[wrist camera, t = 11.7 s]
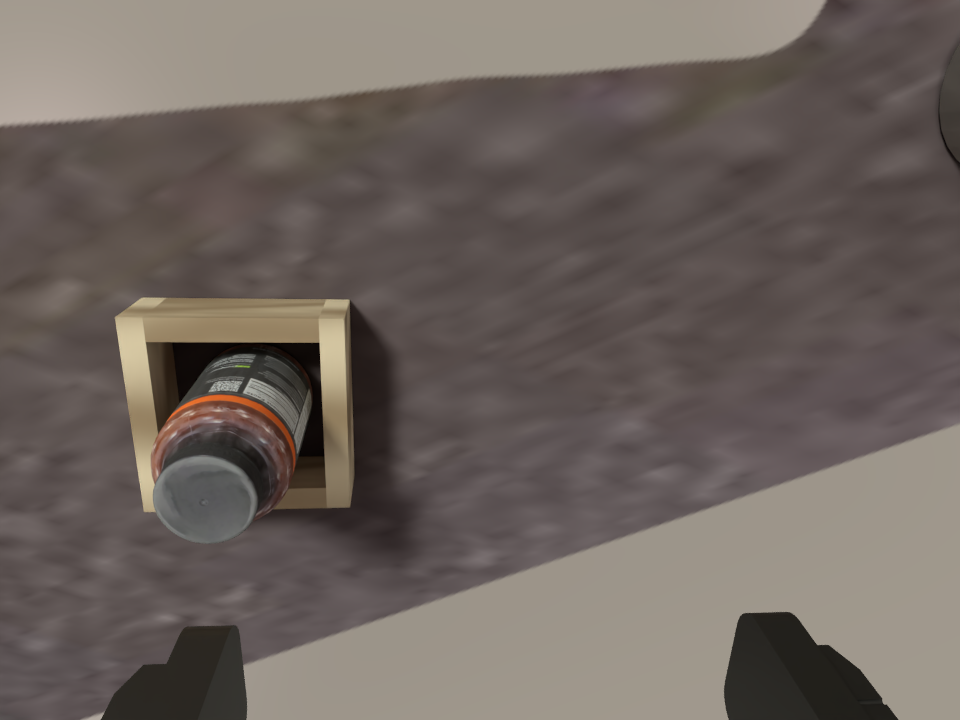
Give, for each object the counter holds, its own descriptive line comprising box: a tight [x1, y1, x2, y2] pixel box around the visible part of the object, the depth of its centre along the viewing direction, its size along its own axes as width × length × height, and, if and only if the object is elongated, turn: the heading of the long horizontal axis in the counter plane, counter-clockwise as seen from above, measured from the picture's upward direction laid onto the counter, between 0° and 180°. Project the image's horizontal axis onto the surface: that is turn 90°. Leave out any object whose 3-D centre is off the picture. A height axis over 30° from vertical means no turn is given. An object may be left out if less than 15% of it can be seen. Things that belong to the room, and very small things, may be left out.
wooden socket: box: [115, 298, 355, 512], centre depth 36 cm, size 10×10×4 cm
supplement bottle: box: [150, 343, 313, 544], centre depth 32 cm, size 6×6×11 cm
